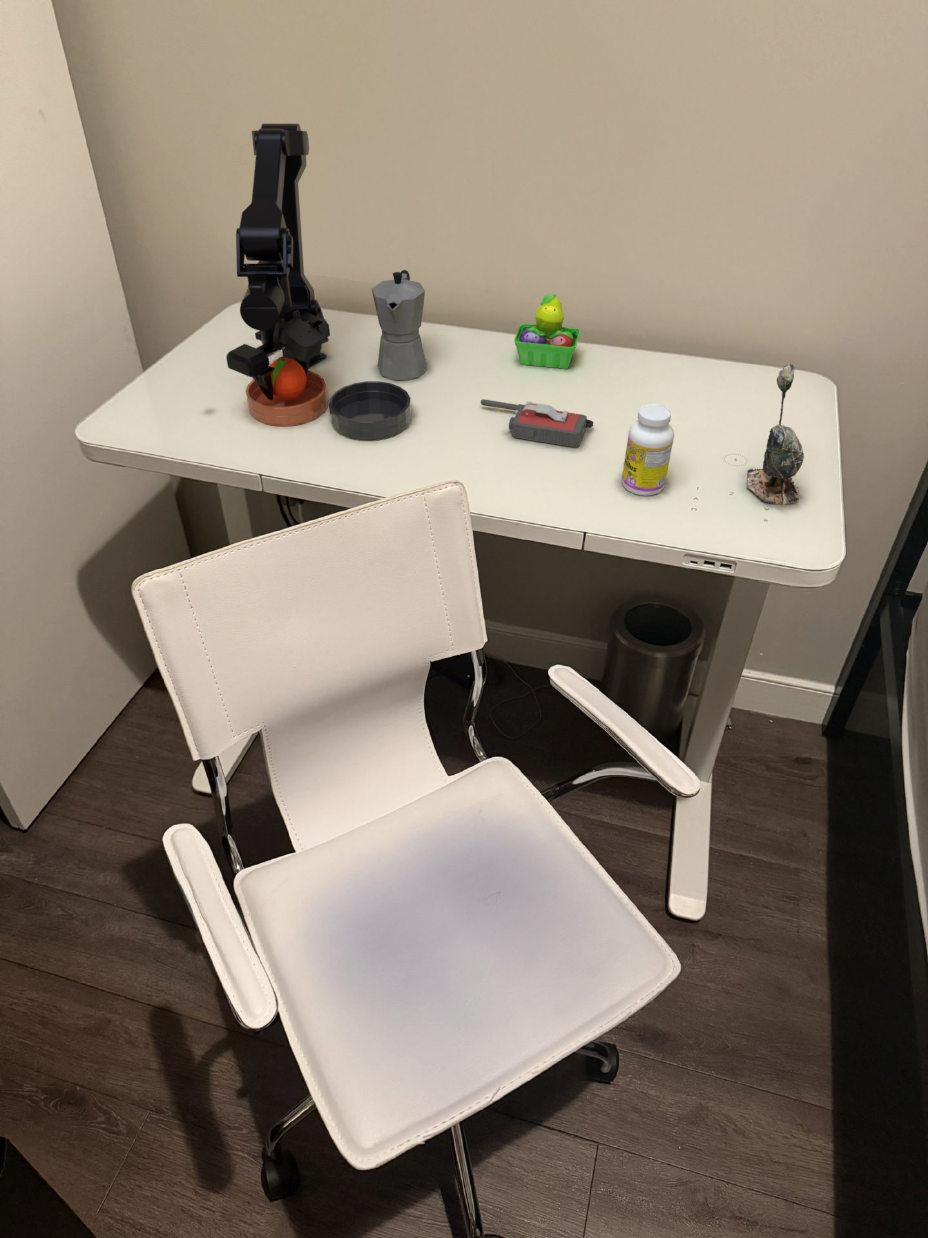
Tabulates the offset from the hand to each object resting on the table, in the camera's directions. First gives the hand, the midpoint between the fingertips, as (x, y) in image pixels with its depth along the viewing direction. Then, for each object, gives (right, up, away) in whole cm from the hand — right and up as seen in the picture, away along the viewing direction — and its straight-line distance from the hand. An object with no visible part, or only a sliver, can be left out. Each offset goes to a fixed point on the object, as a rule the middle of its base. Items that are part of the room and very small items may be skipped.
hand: (286, 390), depth 153 cm
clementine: (0, -1, +1) cm, 2 cm away
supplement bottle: (+58, -19, -15) cm, 63 cm away
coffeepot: (+19, +7, +13) cm, 24 cm away
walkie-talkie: (+42, -7, -3) cm, 43 cm away
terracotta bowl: (0, -2, +2) cm, 3 cm away
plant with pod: (+77, -20, -17) cm, 82 cm away
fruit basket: (+46, +9, +15) cm, 49 cm away
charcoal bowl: (+15, -5, -1) cm, 16 cm away
